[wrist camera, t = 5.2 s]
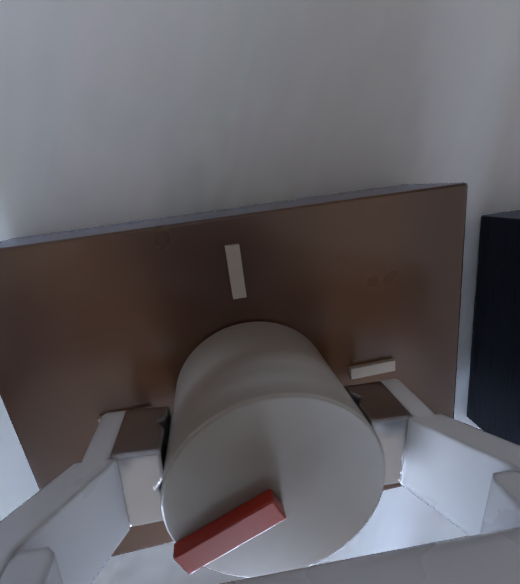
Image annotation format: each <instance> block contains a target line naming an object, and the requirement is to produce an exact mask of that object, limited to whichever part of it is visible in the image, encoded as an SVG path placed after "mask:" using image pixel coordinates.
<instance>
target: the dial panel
mask: <svg viewBox="0 0 520 584" xmlns="http://www.w3.org/2000/svg"><path fill="white" fill-rule="evenodd" d="M466 202H467V184H466V183H436V184H405V185H397V186H390V187H383V188H376V189H368V190H361V191H354V192H347V193H339V194H332V195H325V196H318V197H310V198H303V199H296V200H289V201H282V202H274V203H267V204H260V205H253V206H245V207H238V208H231V209H224V210H216V211H209V212H202V213H195V214H187V215H180V216H173V217H166V218H159V219H151V220H144V221H137V222H130V223H122V224H115V225H108V226H101V227H93V228H86V229H79V230H72V231H64V232H57V233H50V234H43V235H35V236H28V237H21V238H14V239H10V240H6V241H2V242H0V396H1V398H2V400H3V403H4V405H5V408H6V410H7V412H8V415H9V417H10V420H11V422H12V424H13V427H14V429H15V432H16V434H17V436H18V439H19V441H20V444H21V446H22V448H23V451H24V453H25V455H26V458H27V460H28V463H29V465H30V467H31V470H32V472H33V475H34V477H35V479H36V482H37V484H38V487H39V489H40V490H41V489H42V488H44V487H45V486H46V485H48V484H49V483H50V482H51V481H53V480H54V479H55V478H57V477H58V476H59V475H60V474H62V473H63V472H64V471H65V470H67V469H68V468H69V467H71V466H72V465H73V464H75V463H81V462H82V460H83V458H84V456H85V453H86V451H87V449H88V447H89V445H90V442H91V440H92V438H93V436H94V434H95V431H96V429H97V427H98V425H99V423H100V420H101V418H102V416H103V415H104V414H106V413H108V412H117V411H125V410H126V411H128V410H135V409H146V408H156V407H166V406H169V407H170V409H171V415H172V412H173V405H174V398H175V391H176V385H177V380H178V377H179V374H180V371H181V369H182V367H183V365H184V363H185V361H186V360H187V358H188V357H189V355H190V354H191V353H192V352H193V351H194V349H195V348H196V347H197V346H198V345H199V344H201V343H202V342H203V341H204V340H205V339H207V338H208V337H210V336H211V335H213V334H214V333H216V332H218V331H220V330H222V329H224V328H227V327H230V326H233V325H236V324H241V323H246V322H271V323H277V324H281V325H284V326H287V327H289V328H292V329H294V330H296V331H297V332H299V333H301V334H302V335H304V336H305V337H306V338H307V339H309V340H310V341H311V342H312V343H313V345H314V346H315V347H316V348H317V350H318V351H319V352H320V354H321V355H322V357H323V358H324V359H325V361H326V362H327V364H328V365H329V367H330V368H331V369H332V371H333V372H334V374H335V375H336V376H337V378H338V379H339V381H340V382H341V383H342V385H343V386H347V385H355V384H362V383H369V382H377V381H381V380H387V379H394V378H395V379H398V380H400V381H401V382H402V383H403V384H404V385H405V386H406V387H407V388H408V389H409V390H410V391H411V392H412V393H413V394H414V395H415V396H417V397H418V398H419V399H420V400H421V401H422V402H423V403H424V404H425V405H426V406H427V407H428V408H429V409H430V410H431V411H432V412H433V413H434V414H443V415H445V416H448V417H450V418H452V419H454V404H455V387H456V370H457V353H458V337H459V320H460V303H461V286H462V269H463V253H464V236H465V219H466ZM400 486H402V485H401V483H396V484H388V485H384V487H383V491H384V490H388V489H392V488H396V487H400ZM129 528H130V530H129V532H128V533H127V534H126V536H125V537H124V539H123V540H122V541H121V543H120V544H119V546H118V547H117V548H116V550H115V551H114V553H113V554H112V555H111V557H112V556H116V555H120V554H124V553H128V552H132V551H136V550H140V549H145V548H149V547H153V546H157V545H161V544H165V543H169V542H173V540H172V538H171V536H170V535H169V533H168V531H167V529H166V526H165V523H164V521H159V522H154V523H149V524H144V525H139V526H133V527H129Z"/></svg>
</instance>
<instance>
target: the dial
mask: <svg viewBox="0 0 520 584" xmlns="http://www.w3.org/2000/svg"><path fill="white" fill-rule="evenodd" d="M385 473H386V467H385V456H384V452H383V448H382V444H381V442H380V440H379V438H378V435H377V434H376V432H375V431H374V429H373V428H372V426H371V425H370V423H369V422H368V420H367V419H366V417H365V416H364V415H363V413H362V412H361V410H360V409H359V408H358V406H357V405H356V403H355V402H354V400H353V399H352V398H351V396H350V395H349V393H348V392H347V391H346V389H345V388H344V386H343V385H342V383H341V382H340V381H339V379H338V378H337V376H336V375H335V374H334V372H333V371H332V369H331V368H330V367H329V365H328V364H327V362H326V361H325V359H324V358H323V357H322V355H321V354H320V352H319V351H318V350H317V348H316V347H315V346H314V345H313V343H312V342H311V341H310V340H309V339H307V338H306V337H305V336H304V335H302V334H301V333H299V332H297V331H296V330H294V329H292V328H289V327H287V326H284V325H281V324H277V323H271V322H246V323H241V324H236V325H233V326H230V327H227V328H224V329H222V330H220V331H218V332H216V333H214V334H213V335H211V336H210V337H208V338H207V339H205V340H204V341H203V342H202V343H201V344H199V345H198V346H197V347H196V348H195V349H194V351H193V352H192V353H191V354H190V355H189V357H188V358H187V360H186V361H185V363H184V365H183V367H182V369H181V371H180V374H179V377H178V380H177V385H176V391H175V398H174V405H173V412H172V418H171V425H170V432H169V439H168V445H167V452H166V459H165V466H164V472H163V479H162V486H161V493H160V506H161V512H162V518H163V520H164V523H165V526H166V529H167V531H168V533H169V535H170V536H171V538H172V540H173V542H174V543H175V544H174V554H173V558H174V560H175V561H176V562H177V563H178V564H179V565H180V566H181V567H182V568H183V569H184V570H185V571H186V572H187V573H188V574H192V573H193V572H195V571H197V570H199V569H200V568H202V567H206V568H208V569H210V570H213V571H216V572H219V573H222V574H226V575H231V576H237V577H249V578H252V577H257V576H262V575H268V574H273V573H278V572H283V571H288V570H293V569H299V568H304V567H308V566H311V565H313V564H316V563H317V562H319V561H321V560H323V559H325V558H327V557H329V556H330V555H332V554H333V553H335V552H336V551H338V550H339V549H341V548H342V547H343V546H344V545H346V544H347V543H348V542H349V541H350V540H351V539H352V538H354V537H355V536H356V535H357V534H358V533H359V531H360V530H361V529H362V528H363V527H364V526H365V524H366V523H367V522H368V520H369V519H370V517H371V516H372V514H373V512H374V510H375V509H376V507H377V505H378V503H379V500H380V497H381V495H382V492H383V487H384V483H385Z"/></svg>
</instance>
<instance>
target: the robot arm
mask: <svg viewBox="0 0 520 584" xmlns="http://www.w3.org/2000/svg"><path fill="white" fill-rule="evenodd" d="M344 388H345V389H346V391H347V392H348V393H349V395H350V396H351V398H352V399H353V400H354V402H355V403H356V405H357V406H358V408H359V409H360V410H361V412H362V413H363V415H364V416H365V417H366V419H367V420H368V422H369V423H370V425H371V426H372V428H373V429H374V431H375V432H376V434H377V435H378V438H379V440H380V442H381V444H382V448H383V452H384V456H385V467H386V473H385V483H384V485H388V484H396V483H401V485H402V486H403V487H405V488H406V489H408V490H409V491H410V492H412V493H413V494H414V495H416V496H417V497H418V498H420V499H421V500H422V501H424V502H425V503H426V504H428V505H429V506H430V507H432V508H433V509H434V510H436V511H437V512H438V513H440V514H441V515H442V516H444V517H445V518H446V519H448V520H449V521H450V522H452V523H453V524H454V525H456V526H457V527H459V528H460V529H461V530H463V531H464V532H465V533H467V534H468V535H469V536H465V537H460V538H455V539H450V540H444V541H439V542H434V543H429V544H423V545H418V546H413V547H408V548H403V549H397V550H392V551H387V552H382V553H377V554H371V555H366V556H361V557H356V558H351V559H345V560H340V561H335V562H330V563H325V564H319V565H314V566H309V567H304V568H299V569H293V570H288V571H283V572H278V573H273V574H268V575H262V576H257V577H252V578H247V579H242V580H236V581H231V582H226V583H221V584H520V446H519V445H517V444H514V443H512V442H509V441H507V440H504V439H502V438H499V437H497V436H494V435H492V434H490V433H487V432H485V431H482V430H480V429H477V428H475V427H472V426H470V425H467V424H465V423H462V422H460V421H457V420H455V419H452V418H450V417H448V416H445V415H443V414H434V413H433V412H432V411H431V410H430V409H429V408H428V407H427V406H426V405H425V404H424V403H423V402H422V401H421V400H420V399H419V398H418V397H417V396H415V395H414V394H413V393H412V392H411V391H410V390H409V389H408V388H407V387H406V386H405V385H404V384H403V383H402V382H401V381H400V380H398V379H395V378H394V379H387V380H381V381H377V382H369V383H362V384H355V385H347V386H344ZM171 418H172V415H171V409H170V407H169V406H166V407H156V408H146V409H135V410H128V411H126V410H125V411H117V412H108V413H106V414H104V415H103V416H102V418H101V420H100V423H99V425H98V427H97V429H96V431H95V434H94V436H93V438H92V440H91V442H90V445H89V447H88V449H87V451H86V453H85V456H84V458H83V460H82V462H81V463H75V464H73V465H72V466H71V467H69V468H68V469H67V470H65V471H64V472H63V473H62V474H60V475H59V476H58V477H57V478H55V479H54V480H53V481H51V482H50V483H49V484H48V485H46V486H45V487H44V488H42V489H41V490H40V491H39V492H37V493H36V494H35V495H34V496H32V497H31V498H30V499H28V500H27V501H26V502H25V503H23V504H22V505H21V506H19V507H18V508H17V509H16V510H14V511H13V512H12V513H11V514H9V515H8V516H7V517H5V518H4V519H3V520H2V521H0V584H91V583H92V582H93V580H94V579H95V578H96V576H97V575H98V573H99V572H100V571H101V569H102V568H103V566H104V565H105V564H106V562H107V561H108V560H109V558H110V557H111V555H112V554H113V553H114V551H115V550H116V548H117V547H118V546H119V544H120V543H121V541H122V540H123V539H124V537H125V536H126V534H127V533H128V532H129V530H130V528H129V527H133V526H139V525H144V524H149V523H154V522H159V521H164V520H163V518H162V512H161V506H160V493H161V486H162V479H163V472H164V466H165V459H166V452H167V445H168V439H169V432H170V425H171Z"/></svg>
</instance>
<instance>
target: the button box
mask: <svg viewBox="0 0 520 584" xmlns="http://www.w3.org/2000/svg"><path fill="white" fill-rule="evenodd" d="M467 417H468V418H469V419H470V420H472V421H473V422H474V423H475V424H476V425H477V426H479V427H480V428H481V429H482V430H483V431H485V432H487V433H490V434H492V435H494V436H497V437H499V438H502V439H504V440H507V441H509V442H512V443H514V444H517V445H519V446H520V210H517V211H510V212H503V213H497V214H490V215H484V216H482V217H481V231H480V244H479V258H478V271H477V285H476V299H475V312H474V326H473V339H472V353H471V367H470V380H469V394H468V407H467Z"/></svg>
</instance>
